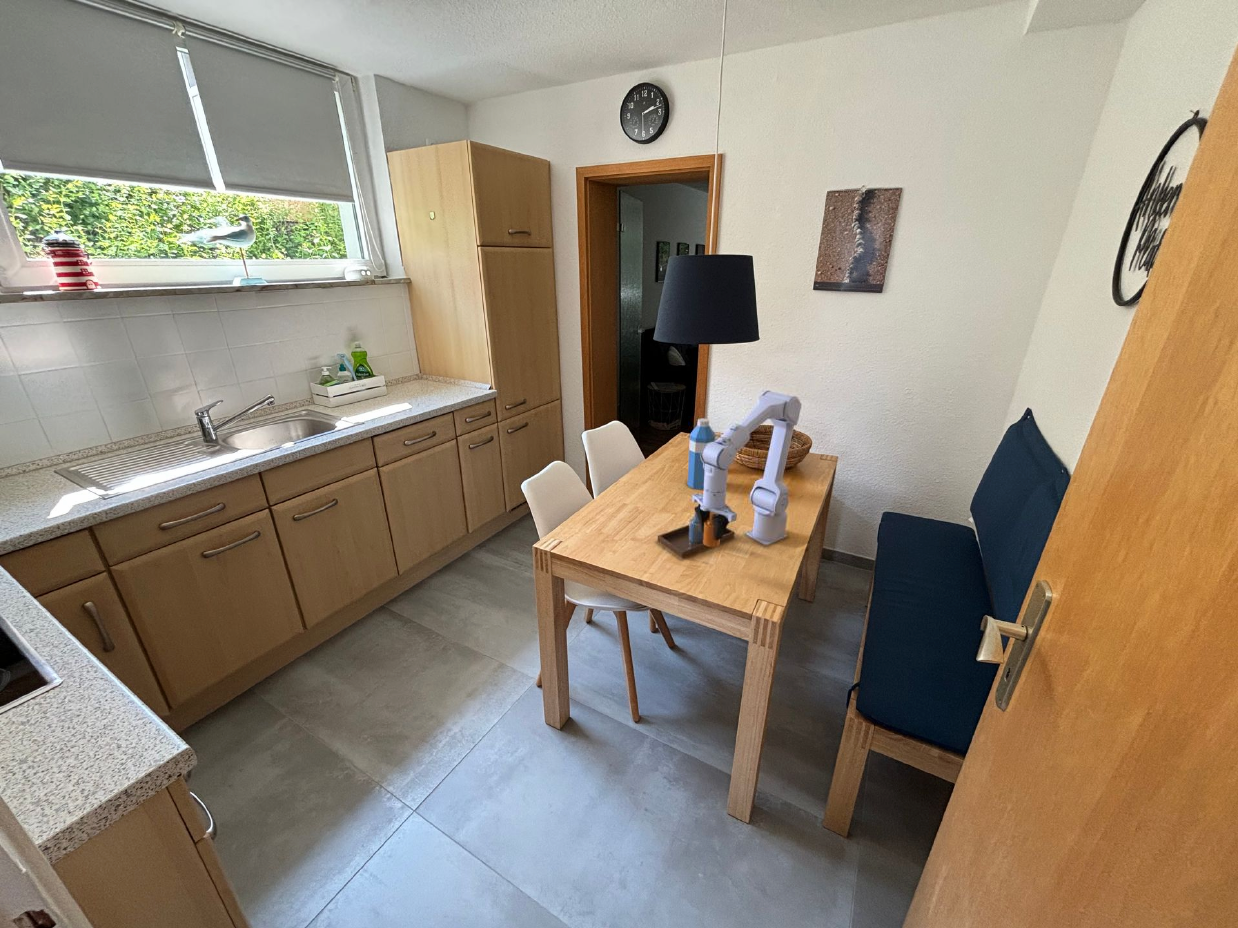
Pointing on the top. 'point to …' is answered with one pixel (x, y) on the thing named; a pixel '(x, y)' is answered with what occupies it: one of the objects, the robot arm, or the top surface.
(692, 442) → the water bottle
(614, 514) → the top surface
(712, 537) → the amber bottle
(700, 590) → the top surface
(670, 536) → the tray
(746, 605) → the top surface
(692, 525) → the blue-grey bottle
